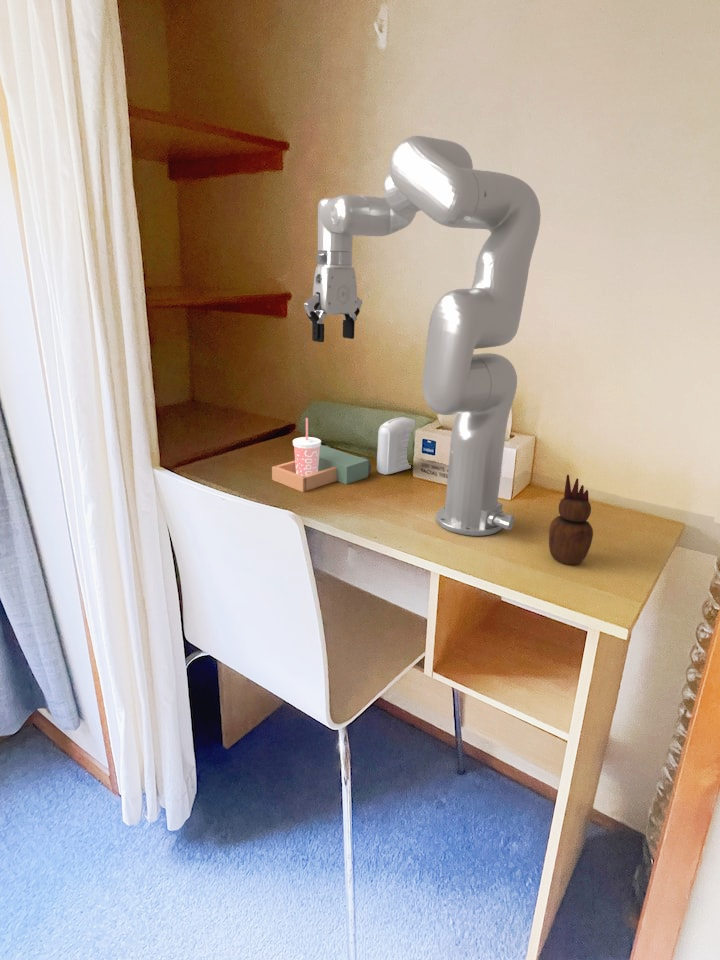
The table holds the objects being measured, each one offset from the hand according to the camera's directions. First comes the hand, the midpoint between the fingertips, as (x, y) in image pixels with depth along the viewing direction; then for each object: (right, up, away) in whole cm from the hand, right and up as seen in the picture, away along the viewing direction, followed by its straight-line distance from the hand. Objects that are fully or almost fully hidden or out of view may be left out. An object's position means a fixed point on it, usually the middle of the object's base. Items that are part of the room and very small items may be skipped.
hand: (333, 339), depth 141 cm
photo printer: (+14, -30, +4) cm, 33 cm away
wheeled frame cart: (-3, -31, -2) cm, 31 cm away
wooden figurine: (+41, -46, -37) cm, 72 cm away
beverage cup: (-6, -32, -5) cm, 33 cm away
